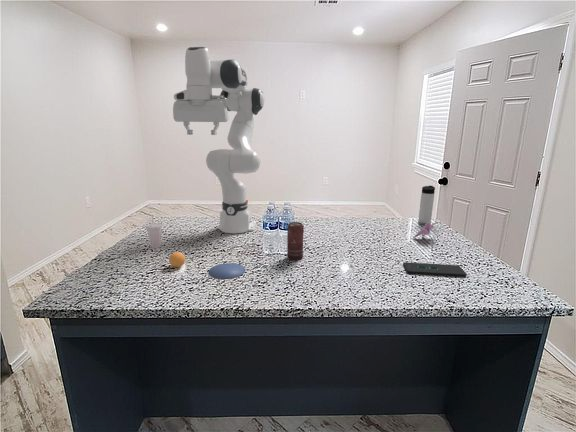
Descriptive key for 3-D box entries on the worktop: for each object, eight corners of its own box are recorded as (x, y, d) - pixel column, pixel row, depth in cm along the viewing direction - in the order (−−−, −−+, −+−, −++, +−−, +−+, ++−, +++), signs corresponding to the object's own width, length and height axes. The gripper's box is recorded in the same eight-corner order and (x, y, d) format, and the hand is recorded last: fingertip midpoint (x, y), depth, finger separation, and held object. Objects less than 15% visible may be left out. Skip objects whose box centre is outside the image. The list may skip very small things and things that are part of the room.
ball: (174, 263, 127) (173, 249, 126) (188, 264, 126) (187, 250, 125) (167, 269, 122) (165, 254, 121) (181, 270, 121) (180, 256, 120)
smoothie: (146, 249, 140) (142, 217, 136) (149, 244, 146) (146, 213, 142) (162, 249, 141) (159, 216, 137) (165, 243, 147) (162, 212, 143)
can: (302, 261, 130) (302, 226, 126) (285, 260, 131) (286, 225, 127) (304, 255, 136) (305, 222, 132) (289, 254, 137) (289, 221, 133)
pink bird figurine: (437, 239, 159) (429, 220, 160) (449, 237, 148) (441, 217, 149) (413, 247, 158) (406, 228, 160) (424, 247, 147) (416, 226, 148)
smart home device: (403, 261, 127) (458, 264, 125) (402, 265, 128) (458, 269, 125) (407, 270, 120) (467, 274, 117) (407, 275, 120) (466, 278, 118)
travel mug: (432, 223, 181) (437, 186, 176) (427, 225, 176) (432, 188, 171) (421, 220, 185) (425, 184, 180) (416, 223, 181) (420, 186, 175)
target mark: (216, 262, 128) (216, 261, 128) (249, 265, 126) (249, 264, 126) (202, 277, 116) (202, 276, 116) (238, 280, 114) (238, 280, 114)
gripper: (230, 96, 123) (231, 135, 127) (178, 96, 127) (180, 134, 130) (223, 94, 117) (225, 135, 121) (169, 94, 121) (172, 134, 124)
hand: (201, 134), depth 126 cm, fingers open, 8 cm apart
